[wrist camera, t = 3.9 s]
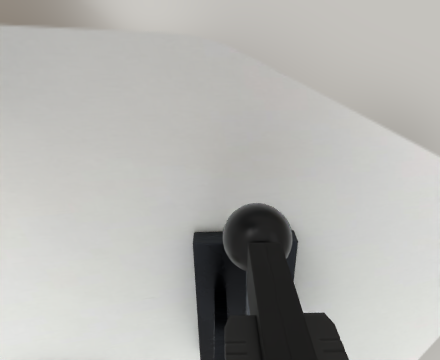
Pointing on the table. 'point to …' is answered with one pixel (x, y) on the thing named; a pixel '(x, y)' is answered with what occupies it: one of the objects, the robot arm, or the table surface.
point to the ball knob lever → (254, 233)
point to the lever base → (220, 290)
